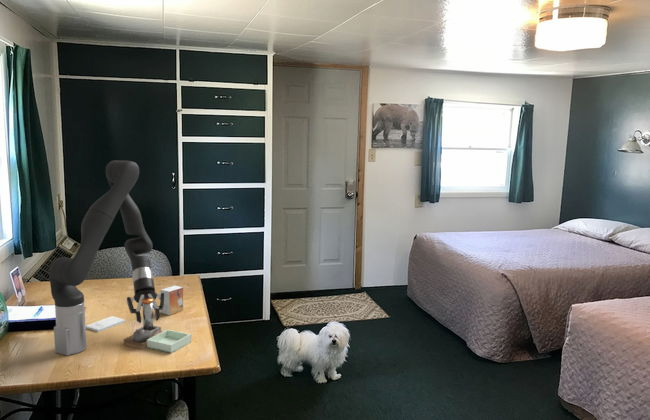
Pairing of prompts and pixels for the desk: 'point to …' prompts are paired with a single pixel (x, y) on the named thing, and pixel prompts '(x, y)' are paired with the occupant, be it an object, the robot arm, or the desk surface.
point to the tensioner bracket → (141, 337)
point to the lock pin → (147, 313)
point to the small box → (172, 300)
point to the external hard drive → (105, 324)
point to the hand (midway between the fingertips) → (148, 320)
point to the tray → (169, 341)
